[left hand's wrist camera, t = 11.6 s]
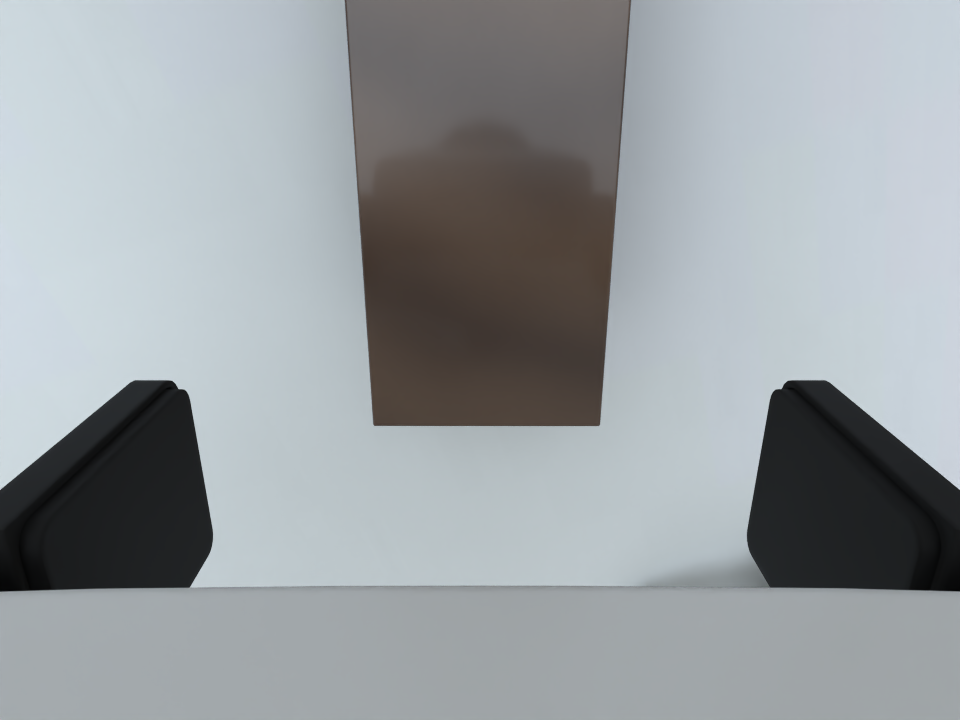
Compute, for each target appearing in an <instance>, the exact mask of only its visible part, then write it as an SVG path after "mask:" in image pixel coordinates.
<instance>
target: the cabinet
mask: <svg viewBox="0 0 960 720" xmlns="http://www.w3.org/2000/svg"><path fill="white" fill-rule="evenodd" d="M630 8H631V0H345V11H346V26H347V41H348V56H349V71H350V85H351V100H352V115H353V130H354V145H355V159H356V174H357V189H358V204H359V219H360V234H361V248H362V263H363V278H364V293H365V308H366V323H367V337H368V352H369V367H370V382H371V397H372V411H373V424H374V426H599V425H600V418H601V404H602V390H603V377H604V363H605V349H606V336H607V322H608V308H609V295H610V281H611V267H612V254H613V240H614V226H615V213H616V199H617V185H618V172H619V158H620V144H621V131H622V117H623V103H624V90H625V76H626V62H627V49H628V35H629V21H630Z"/></svg>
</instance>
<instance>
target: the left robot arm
mask: <svg viewBox="0 0 960 720" xmlns="http://www.w3.org/2000/svg"><path fill="white" fill-rule="evenodd" d="M212 542H213V529H212V524H211V518H210V512H209V506H208V501H207V495H206V489H205V483H204V478H203V472H202V466H201V460H200V455H199V449H198V443H197V438H196V432H195V426H194V420H193V415H192V409H191V403H190V399H189V395H188V393H187V392H186V391H185V390H182V389H178V388H177V386H176V384H175V383H174V382H173V381H168V380H135V381H133V382H131V383H129V384H128V385H127V386H126V387H125V388H123V389H122V390H121V391H120V392H119V393H117V394H116V395H115V396H114V397H112V398H111V399H110V400H109V401H108V402H106V403H105V404H104V405H103V406H102V407H100V408H99V409H98V410H97V411H95V412H94V413H93V414H92V415H91V416H89V417H88V418H87V419H86V420H85V421H83V422H82V423H81V424H80V425H79V426H77V427H76V428H75V429H74V430H72V431H71V432H70V433H69V434H68V435H66V436H65V437H64V438H63V439H62V440H60V441H59V442H58V443H57V444H56V445H54V446H53V447H52V448H51V449H49V450H48V451H47V452H46V453H45V454H43V455H42V456H41V457H40V458H39V459H37V460H36V461H35V462H34V463H32V464H31V465H30V466H29V467H28V468H26V469H25V470H24V471H23V472H22V473H20V474H19V475H18V476H17V477H16V478H14V479H13V480H12V481H11V482H9V483H8V484H7V485H6V486H5V487H3V488H2V489H1V490H0V720H960V490H959V489H958V488H957V487H955V486H954V485H953V484H952V483H951V482H949V481H948V480H947V479H946V478H944V477H943V476H942V475H941V474H940V473H938V472H937V471H936V470H935V469H934V468H932V467H931V466H930V465H929V464H928V463H926V462H925V461H924V460H923V459H921V458H920V457H919V456H918V455H917V454H915V453H914V452H913V451H912V450H911V449H909V448H908V447H907V446H906V445H904V444H903V443H902V442H901V441H900V440H898V439H897V438H896V437H895V436H894V435H892V434H891V433H890V432H889V431H888V430H886V429H885V428H884V427H883V426H881V425H880V424H879V423H878V422H877V421H875V420H874V419H873V418H872V417H871V416H869V415H868V414H867V413H866V412H865V411H863V410H862V409H861V408H860V407H858V406H857V405H856V404H855V403H854V402H852V401H851V400H850V399H849V398H848V397H846V396H845V395H844V394H843V393H841V392H840V391H839V390H838V389H837V388H835V387H834V386H833V385H832V384H831V383H829V382H827V381H825V380H792V381H787V382H786V383H785V384H784V386H783V388H782V389H778V390H775V391H774V392H773V393H772V395H771V399H770V403H769V409H768V415H767V420H766V426H765V432H764V438H763V443H762V449H761V455H760V460H759V466H758V472H757V478H756V483H755V489H754V495H753V501H752V506H751V512H750V518H749V524H748V529H747V542H748V547H749V551H750V553H751V555H752V557H753V559H754V561H755V562H756V564H757V566H758V567H759V569H760V571H761V572H762V574H763V576H764V577H765V579H766V581H767V583H768V584H769V586H770V588H748V587H631V586H306V587H213V588H190V586H191V584H192V583H193V581H194V579H195V577H196V576H197V574H198V572H199V571H200V569H201V567H202V566H203V564H204V562H205V561H206V559H207V557H208V555H209V553H210V551H211V547H212Z"/></svg>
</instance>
